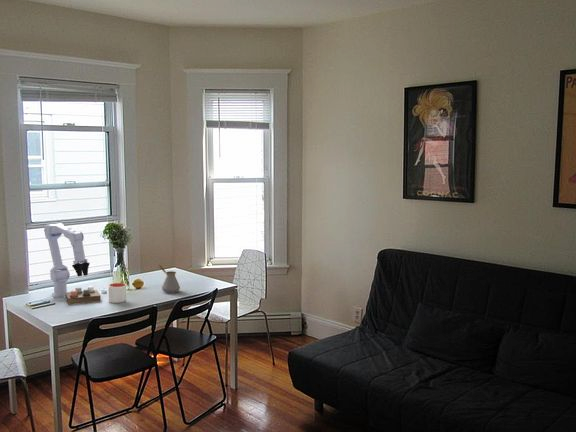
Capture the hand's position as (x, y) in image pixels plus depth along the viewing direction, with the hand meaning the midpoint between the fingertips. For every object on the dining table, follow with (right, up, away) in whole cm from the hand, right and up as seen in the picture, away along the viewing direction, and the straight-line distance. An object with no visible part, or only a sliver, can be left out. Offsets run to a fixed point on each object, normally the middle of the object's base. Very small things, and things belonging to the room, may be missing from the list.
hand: (82, 275), depth 321 cm
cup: (+17, -16, +10) cm, 26 cm away
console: (-4, -15, +11) cm, 19 cm away
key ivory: (-1, -12, +16) cm, 20 cm away
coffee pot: (+40, -14, +38) cm, 57 cm away
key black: (-1, -13, +8) cm, 15 cm away
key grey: (-7, -12, +12) cm, 19 cm away
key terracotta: (-7, -13, +5) cm, 16 cm away
